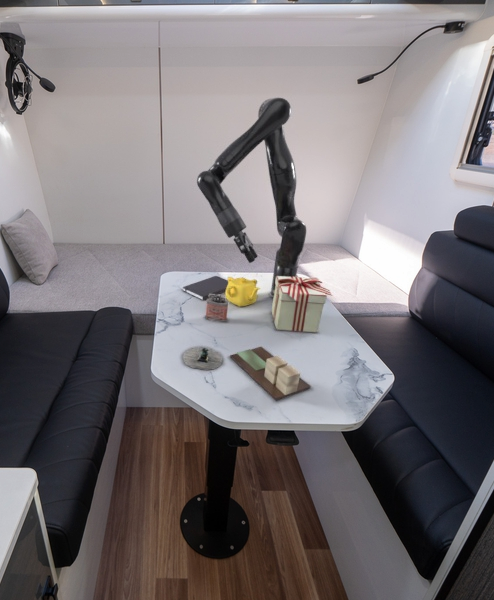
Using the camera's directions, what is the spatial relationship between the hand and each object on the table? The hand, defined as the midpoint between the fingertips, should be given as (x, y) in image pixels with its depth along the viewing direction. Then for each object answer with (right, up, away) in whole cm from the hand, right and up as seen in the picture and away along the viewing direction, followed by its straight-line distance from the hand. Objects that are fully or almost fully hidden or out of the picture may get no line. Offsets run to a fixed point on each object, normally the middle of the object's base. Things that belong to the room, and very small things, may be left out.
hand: (254, 259), depth 136 cm
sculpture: (-20, -33, -21) cm, 44 cm away
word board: (-1, -36, -26) cm, 44 cm away
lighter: (-14, -22, +2) cm, 26 cm away
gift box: (+15, -23, 0) cm, 28 cm away
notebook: (-14, -10, +27) cm, 32 cm away
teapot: (-2, -16, +16) cm, 22 cm away
